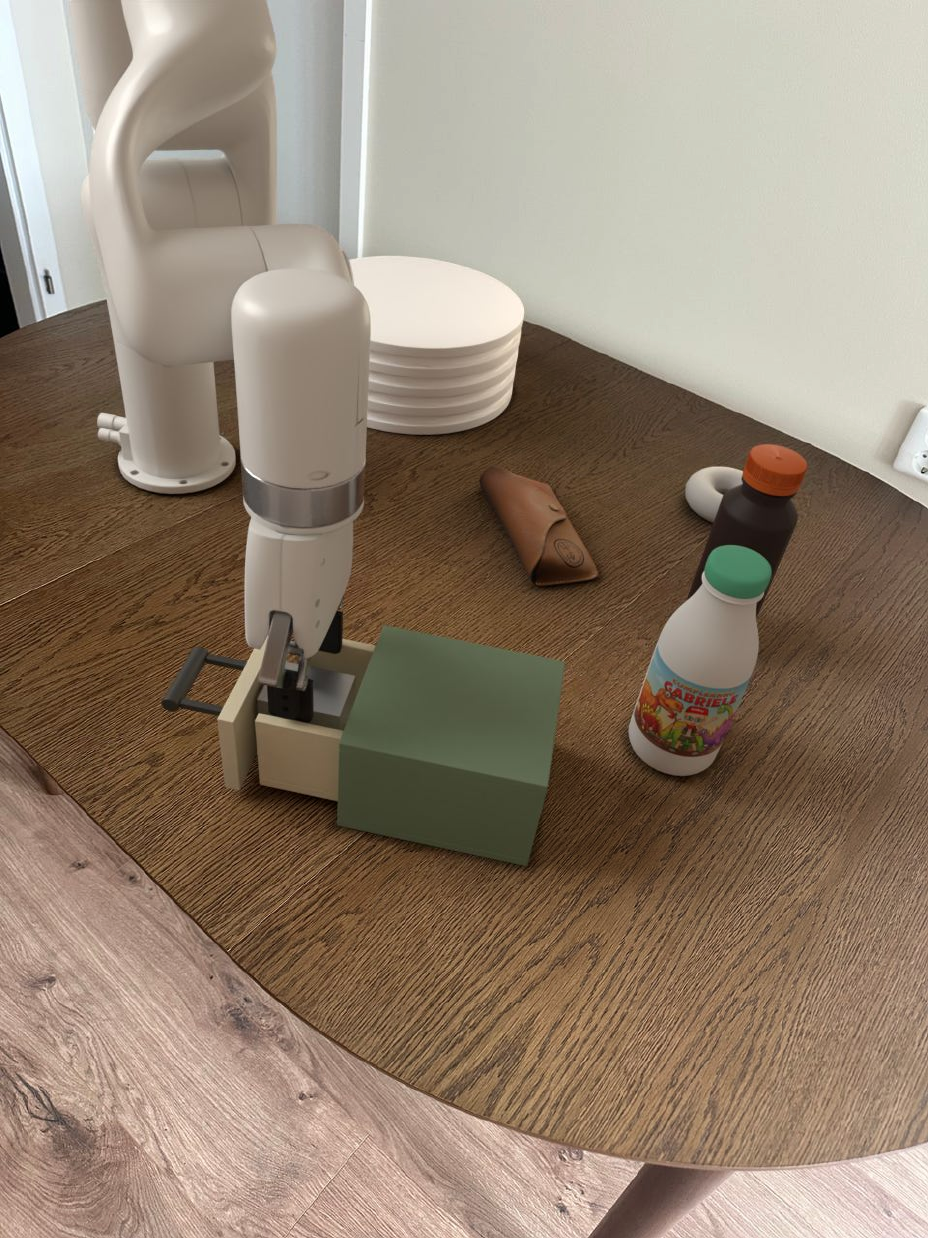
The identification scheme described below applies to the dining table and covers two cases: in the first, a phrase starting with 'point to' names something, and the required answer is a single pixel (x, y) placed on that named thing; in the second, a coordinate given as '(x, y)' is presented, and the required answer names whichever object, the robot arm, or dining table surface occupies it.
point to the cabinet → (450, 745)
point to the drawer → (271, 723)
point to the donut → (710, 489)
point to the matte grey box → (323, 697)
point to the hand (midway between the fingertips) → (306, 679)
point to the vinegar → (758, 509)
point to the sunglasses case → (537, 529)
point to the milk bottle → (701, 666)
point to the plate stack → (437, 344)
